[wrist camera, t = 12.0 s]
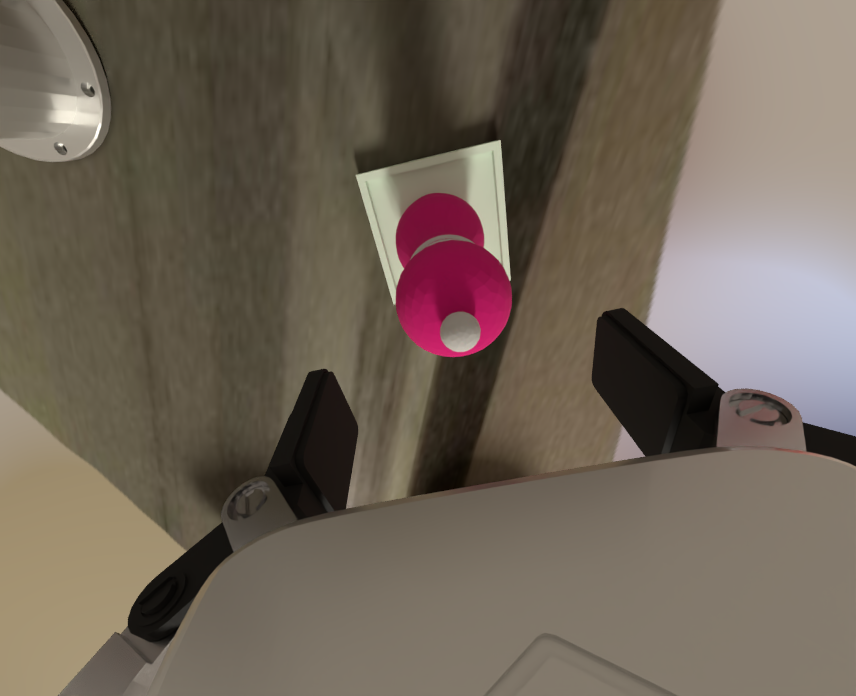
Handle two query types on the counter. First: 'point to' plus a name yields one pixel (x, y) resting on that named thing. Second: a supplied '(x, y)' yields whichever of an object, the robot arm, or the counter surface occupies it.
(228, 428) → the counter surface
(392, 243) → the tray
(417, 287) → the pepper mill
